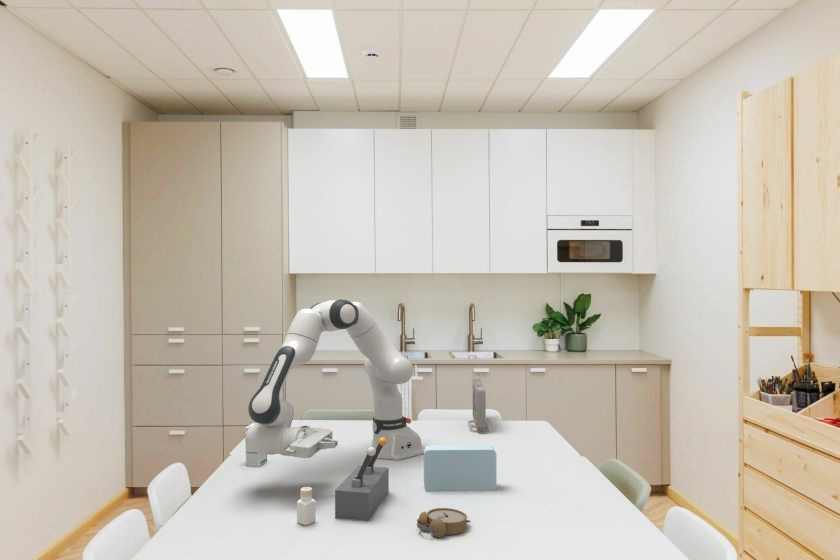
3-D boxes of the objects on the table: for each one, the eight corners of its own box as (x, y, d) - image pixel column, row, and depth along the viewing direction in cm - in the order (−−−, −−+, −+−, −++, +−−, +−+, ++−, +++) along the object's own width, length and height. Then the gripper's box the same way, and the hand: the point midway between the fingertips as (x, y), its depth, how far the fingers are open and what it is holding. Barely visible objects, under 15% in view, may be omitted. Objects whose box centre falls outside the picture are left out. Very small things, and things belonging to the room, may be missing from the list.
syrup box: (260, 467, 212) (259, 427, 212) (245, 466, 213) (244, 426, 213) (267, 462, 217) (267, 423, 217) (252, 461, 219) (252, 422, 218)
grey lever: (351, 482, 171) (367, 446, 169) (354, 479, 173) (370, 444, 172) (359, 486, 170) (375, 451, 169) (362, 483, 173) (378, 448, 172)
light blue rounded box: (493, 484, 194) (493, 444, 194) (496, 490, 188) (496, 449, 188) (423, 484, 194) (423, 444, 194) (424, 491, 188) (424, 450, 188)
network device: (490, 434, 254) (490, 388, 254) (470, 434, 254) (470, 388, 254) (485, 419, 279) (485, 378, 279) (466, 419, 279) (466, 378, 279)
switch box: (335, 518, 167) (334, 483, 167) (358, 490, 189) (358, 459, 189) (368, 521, 165) (368, 485, 165) (388, 492, 187) (388, 461, 187)
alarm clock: (476, 518, 161) (434, 522, 152) (474, 536, 160) (431, 542, 151) (450, 505, 169) (408, 508, 161) (447, 522, 169) (406, 527, 160)
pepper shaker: (307, 518, 167) (307, 485, 167) (316, 521, 165) (316, 488, 165) (296, 522, 164) (295, 489, 164) (305, 526, 162) (305, 492, 162)
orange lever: (363, 469, 181) (379, 436, 180) (365, 466, 184) (382, 434, 183) (370, 473, 181) (387, 441, 180) (372, 471, 183) (389, 438, 182)
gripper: (281, 441, 177) (324, 443, 174) (307, 424, 197) (346, 426, 194) (281, 461, 177) (324, 464, 174) (307, 442, 197) (346, 445, 194)
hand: (336, 444), depth 184 cm, fingers closed
